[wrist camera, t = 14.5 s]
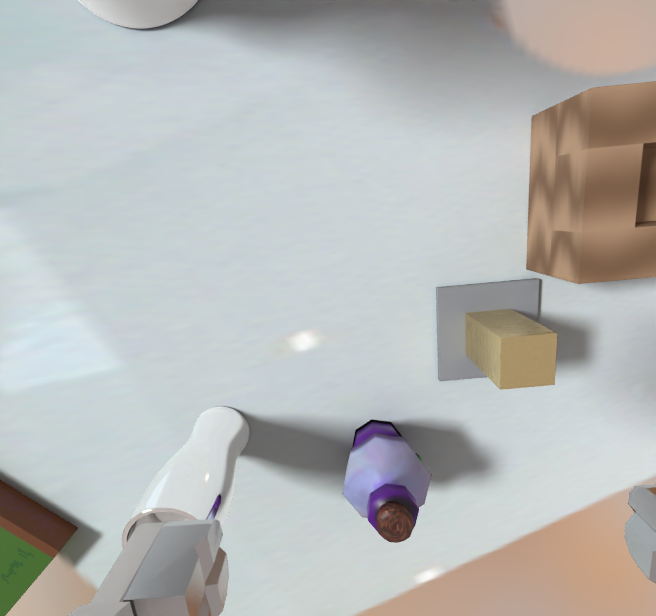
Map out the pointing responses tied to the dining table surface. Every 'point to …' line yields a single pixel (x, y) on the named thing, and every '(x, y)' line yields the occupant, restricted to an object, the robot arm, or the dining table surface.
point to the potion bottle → (385, 480)
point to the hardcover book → (26, 543)
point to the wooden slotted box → (594, 186)
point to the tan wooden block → (511, 348)
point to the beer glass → (196, 474)
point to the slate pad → (475, 299)
